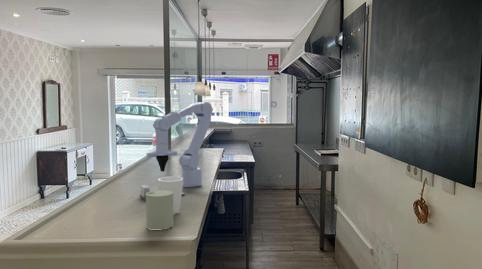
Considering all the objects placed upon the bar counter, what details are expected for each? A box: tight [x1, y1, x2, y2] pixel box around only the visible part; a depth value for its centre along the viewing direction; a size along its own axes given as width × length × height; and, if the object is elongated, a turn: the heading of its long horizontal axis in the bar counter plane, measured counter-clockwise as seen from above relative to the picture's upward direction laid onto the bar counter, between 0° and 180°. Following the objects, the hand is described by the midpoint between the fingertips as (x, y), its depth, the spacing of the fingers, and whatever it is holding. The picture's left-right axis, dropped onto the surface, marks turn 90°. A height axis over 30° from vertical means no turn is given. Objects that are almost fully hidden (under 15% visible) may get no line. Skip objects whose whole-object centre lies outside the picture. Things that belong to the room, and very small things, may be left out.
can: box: [145, 189, 175, 229], centre depth 120 cm, size 9×9×12 cm
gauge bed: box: [139, 184, 186, 202], centre depth 162 cm, size 18×10×5 cm, turn 118°
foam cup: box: [157, 176, 184, 215], centre depth 136 cm, size 10×9×13 cm
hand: (162, 171), depth 172 cm, fingers closed
